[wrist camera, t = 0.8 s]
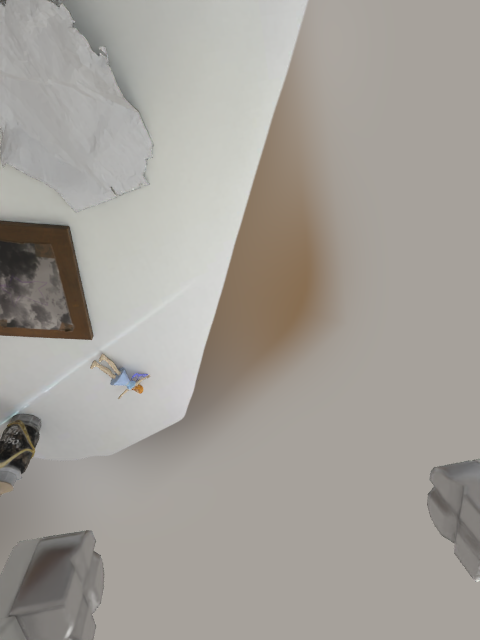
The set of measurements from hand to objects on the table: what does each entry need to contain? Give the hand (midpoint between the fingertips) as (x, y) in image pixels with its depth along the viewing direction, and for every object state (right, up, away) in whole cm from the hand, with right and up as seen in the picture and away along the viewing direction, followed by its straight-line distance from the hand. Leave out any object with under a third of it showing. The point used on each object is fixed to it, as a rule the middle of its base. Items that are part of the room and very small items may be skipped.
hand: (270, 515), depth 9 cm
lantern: (-53, -20, +84) cm, 101 cm away
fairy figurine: (-26, -6, +72) cm, 76 cm away
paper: (-22, +30, +38) cm, 53 cm away
